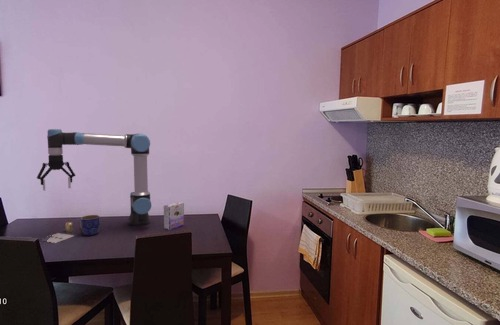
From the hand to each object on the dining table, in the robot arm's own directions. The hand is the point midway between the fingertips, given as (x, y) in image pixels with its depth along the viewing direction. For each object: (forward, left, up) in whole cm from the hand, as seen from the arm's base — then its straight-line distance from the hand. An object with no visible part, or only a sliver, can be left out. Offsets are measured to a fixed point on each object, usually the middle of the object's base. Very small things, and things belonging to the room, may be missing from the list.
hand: (57, 189), depth 198 cm
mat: (0, +2, -30) cm, 31 cm away
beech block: (+2, -22, -31) cm, 38 cm away
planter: (-13, -12, -31) cm, 35 cm away
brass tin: (+4, -11, -30) cm, 33 cm away
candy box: (-55, -44, -31) cm, 77 cm away
